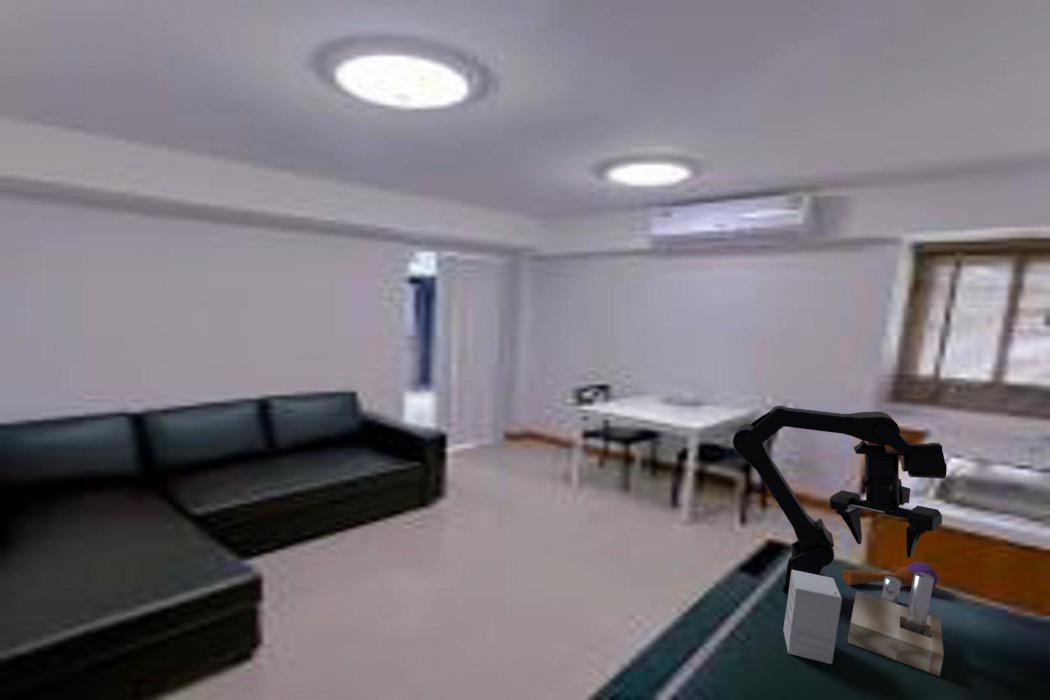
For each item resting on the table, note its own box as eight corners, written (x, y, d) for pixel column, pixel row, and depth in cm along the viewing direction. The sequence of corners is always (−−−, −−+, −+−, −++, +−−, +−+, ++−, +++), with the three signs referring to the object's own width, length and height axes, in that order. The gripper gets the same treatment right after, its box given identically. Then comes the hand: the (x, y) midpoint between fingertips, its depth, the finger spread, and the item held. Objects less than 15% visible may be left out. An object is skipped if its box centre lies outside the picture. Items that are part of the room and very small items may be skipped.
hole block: (847, 642, 105) (850, 622, 104) (853, 609, 116) (856, 591, 116) (939, 676, 97) (943, 655, 97) (936, 637, 109) (940, 618, 108)
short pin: (880, 601, 120) (884, 579, 119) (881, 596, 123) (884, 574, 122) (897, 607, 118) (901, 585, 118) (897, 601, 121) (901, 579, 120)
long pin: (898, 643, 106) (910, 573, 104) (907, 639, 107) (919, 570, 105) (915, 653, 103) (928, 581, 101) (924, 649, 105) (937, 578, 103)
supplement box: (825, 641, 105) (835, 577, 103) (832, 666, 98) (843, 598, 96) (782, 630, 107) (791, 568, 105) (786, 653, 100) (796, 587, 99)
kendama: (838, 559, 130) (923, 558, 130) (839, 586, 130) (924, 584, 130) (854, 568, 124) (943, 566, 124) (855, 596, 124) (944, 594, 124)
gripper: (951, 474, 111) (952, 551, 112) (850, 459, 126) (852, 527, 127) (930, 488, 104) (932, 570, 105) (827, 470, 119) (829, 541, 120)
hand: (883, 550), depth 115 cm, fingers open, 9 cm apart
